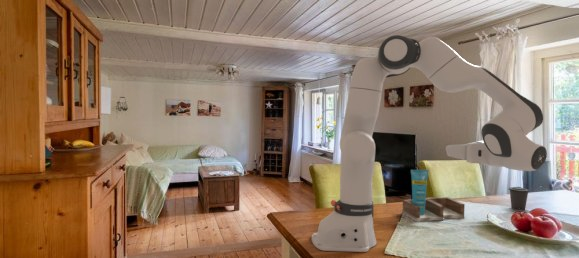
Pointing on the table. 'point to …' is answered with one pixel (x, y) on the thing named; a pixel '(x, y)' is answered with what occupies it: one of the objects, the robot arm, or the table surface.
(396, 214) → the table surface
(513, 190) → the coffee cup
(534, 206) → the table surface
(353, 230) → the robot arm
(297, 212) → the table surface
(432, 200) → the endcap
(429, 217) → the brown wooden open box
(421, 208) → the tube
